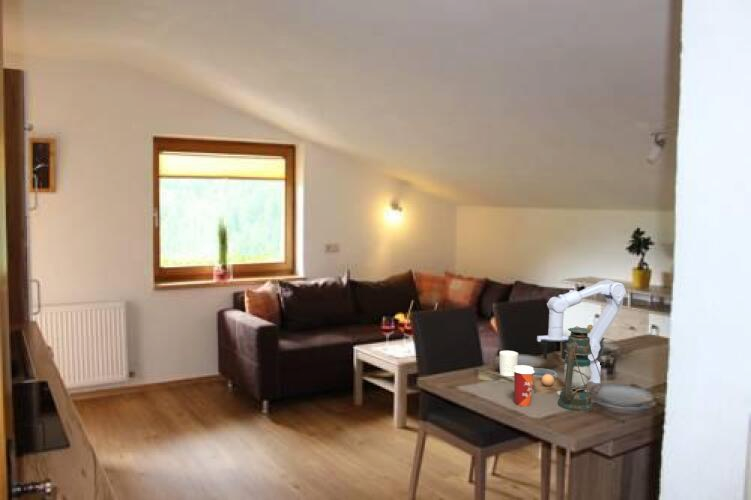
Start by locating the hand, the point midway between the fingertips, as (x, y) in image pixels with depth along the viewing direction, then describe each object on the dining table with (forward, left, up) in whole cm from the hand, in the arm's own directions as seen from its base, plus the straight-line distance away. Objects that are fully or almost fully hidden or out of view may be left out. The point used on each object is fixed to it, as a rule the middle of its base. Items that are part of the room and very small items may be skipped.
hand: (554, 358), depth 276 cm
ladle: (-3, +16, -10) cm, 19 cm away
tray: (+5, +9, -10) cm, 14 cm away
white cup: (+17, -8, -10) cm, 21 cm away
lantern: (0, +30, -10) cm, 32 cm away
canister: (-26, -31, -10) cm, 42 cm away
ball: (+5, +9, -9) cm, 14 cm away
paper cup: (+20, +28, -10) cm, 36 cm away
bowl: (+4, -4, -10) cm, 11 cm away
